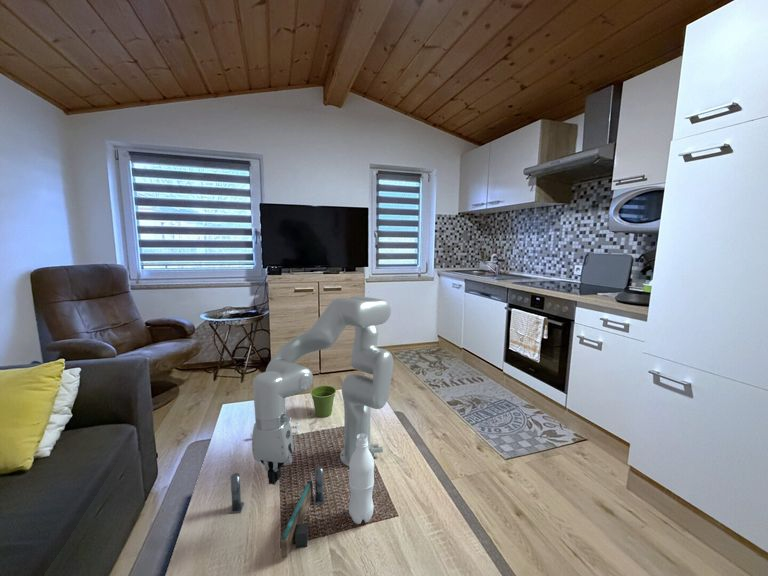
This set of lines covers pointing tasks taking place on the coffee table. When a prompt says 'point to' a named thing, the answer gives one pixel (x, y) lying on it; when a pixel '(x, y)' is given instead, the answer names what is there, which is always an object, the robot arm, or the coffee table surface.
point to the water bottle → (361, 481)
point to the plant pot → (323, 400)
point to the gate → (296, 519)
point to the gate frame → (301, 529)
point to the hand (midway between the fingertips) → (274, 480)
